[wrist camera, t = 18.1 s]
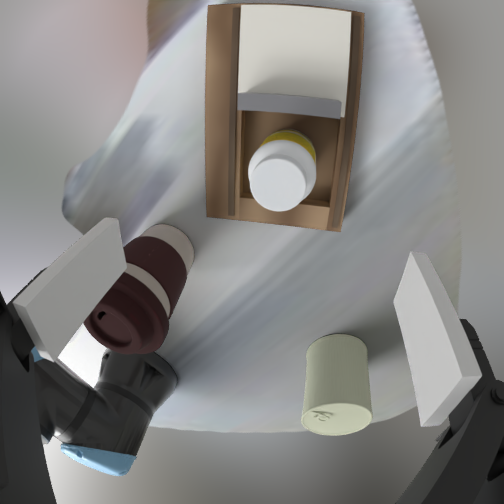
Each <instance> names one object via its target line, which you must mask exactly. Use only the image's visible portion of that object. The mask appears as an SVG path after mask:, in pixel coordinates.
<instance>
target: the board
mask: <svg viewBox="0 0 504 504" xmlns="http://www.w3.org/2000/svg"><path fill="white" fill-rule="evenodd" d="M241 5H289V6H304V7H315V8H325V9H333V10H340V11H347V12H351V32H350V53H349V69H348V83H347V95H346V106H345V116H344V117H340V119H335V118H328V117H320V116H311V115H302V114H292V113H280V112H266V111H247V110H237V107H238V74H239V46H240V20H241ZM363 40H364V13H362V12H356V11H350V10H344V9H337V8H329V7H320V6H310V5H297V4H276V3H240V4H219V5H208V14H207V39H206V78H205V170H206V212H207V217H212V218H222V219H232V220H242V221H251V222H260V223H269V224H278V225H287V226H295V227H304V228H312V229H320V230H328V231H336V232H341V227H342V221H343V216H344V210H345V204H346V198H347V192H348V185H349V179H350V172H351V165H352V158H353V151H354V143H355V135H356V126H357V117H358V108H359V97H360V86H361V73H362V59H363ZM282 129H293V130H297V131H299V132H301V133H303V134H304V135H306V136H307V137H308V138H309V139H310V141H311V142H312V144H313V146H314V149H315V153H316V181H315V184H314V187H313V189H312V191H311V192H310V194H309V195H308V196H307V197H306V198H305V199H303V200H302V201H301V202H300V203H299V204H298V205H297V206H295V207H294V208H292V209H290V210H287V211H272V210H269V209H266V208H264V207H263V206H261V205H260V204H259V203H258V202H257V201H256V200H255V198H254V197H253V195H252V192H251V189H250V181H249V177H248V168H249V163H250V160H251V158H252V156H253V155H254V153H255V152H256V150H257V149H258V148H259V147H260V145H261V144H262V143H263V142H264V140H265V139H266V138H267V137H268V136H269V135H271V134H272V133H274V132H276V131H278V130H282Z"/></svg>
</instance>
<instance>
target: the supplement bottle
mask: <svg viewBox="0 0 504 504" xmlns="http://www.w3.org/2000/svg"><path fill="white" fill-rule="evenodd" d="M248 177H249V181H250V189H251V192H252V195H253V197H254V198H255V200H256V201H257V202H258V203H259V204H260V205H261V206H263V207H264V208H266V209H269V210H272V211H287V210H290V209H292V208H294V207H295V206H297V205H298V204H299V203H300V202H301V201H302V200H303V199H305V198H306V197H307V196H308V195H309V194H310V192H311V191H312V189H313V187H314V184H315V181H316V153H315V149H314V146H313V144H312V142H311V141H310V139H309V138H308V137H307V136H306V135H304V134H303V133H301V132H299V131H297V130H293V129H282V130H278V131H276V132H274V133H272V134H271V135H269V136H268V137H267V138H266V139H265V140H264V142H263V143H262V144H261V145H260V147H259V148H258V149H257V150H256V152H255V153H254V155H253V156H252V158H251V160H250V163H249V168H248Z"/></svg>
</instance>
